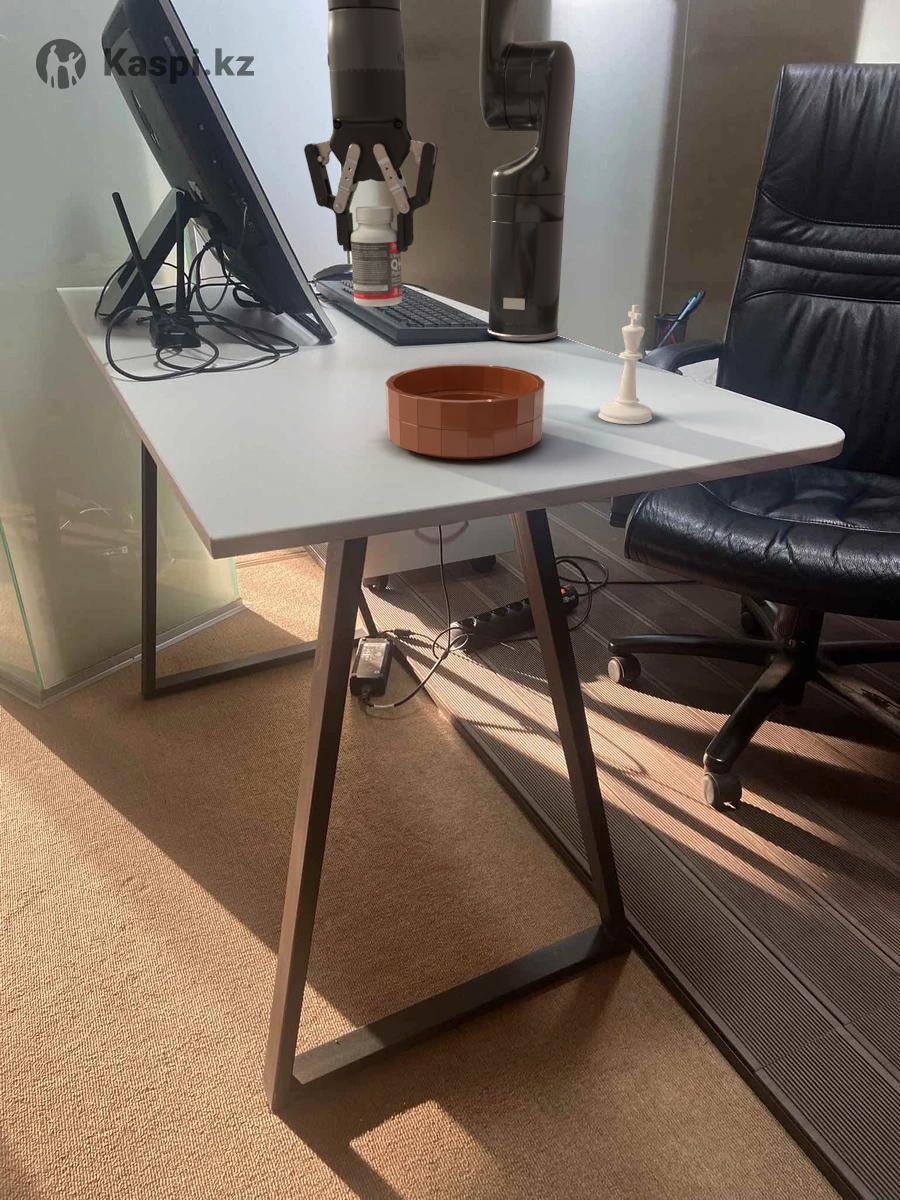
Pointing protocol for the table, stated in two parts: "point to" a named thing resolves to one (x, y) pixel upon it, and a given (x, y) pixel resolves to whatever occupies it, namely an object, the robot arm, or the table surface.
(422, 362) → the table surface
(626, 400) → the chess piece
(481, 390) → the bowl
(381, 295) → the pill bottle
